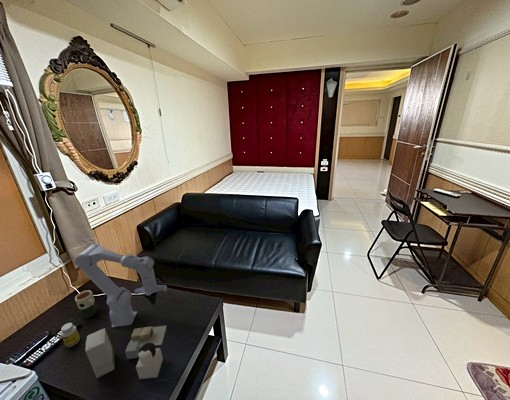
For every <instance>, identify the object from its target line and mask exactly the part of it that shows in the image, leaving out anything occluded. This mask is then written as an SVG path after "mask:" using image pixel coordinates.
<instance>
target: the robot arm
mask: <svg viewBox="0 0 510 400" xmlns="http://www.w3.org/2000/svg"><path fill="white" fill-rule="evenodd" d="M101 261H108V262H112V263H118V264H120V265H121V267H124V268H127V269H132V270H135V271H136V272H137V274H139V276H140V279H141V282H142V286H141V287H139V288H135V289H134V295H138V294H144V298H145V299H147V300H148V301H149V302H150V304H151V305H156V302H157V293H158V292H161V291H163V292H167V289H168V287H167V285H162V284H157V280H156V276H155V271H154V264H155V260H154V259H153V257H150V256H141V257H140V256H136V255H133V254H132V253H131V254H130V253H128V254H125V255H123V254H120V253H117V252H114V251H111V250H109V249H105V247H104V246H103V245H99V244H97V243H92V244H91V245H89V246H88V247H87V248H86V249H84V250H83V251H82V252H80V253H79V254H77V255H76V256H75V259H74V262H73V263H74V264H75V265H76V266H77V267H78V268H79V269H80V270H81V271H82V272H83V273H84V274H85V275H86V276H87V277H88V278H89V279H90V280H91V281H92V282H93V283H94V284H95V285H96V287H98V289H100V290H101V292H103V293H104V294H105V295H106V297H107V299H106V305H107V306H108V308H109V319H110V323H111V328H117V327H123V326H130V325H133V322H134V320H135V317H136V316H137V313H138V311H134V310H133V307H132V306H133V305H132V302H131V298H132V296H133V294H132V292H131V291H130V290H129V289H126V288H125V287H124V286H122V287H121V286H120V287H118V285H116V283H115V282H114V281H113V280H112V279H111V278H110V277H109V276H108V275H107V274H106V273H105V272H104V271H103V270H102V269H101V267H99V266H98V262H101Z"/></svg>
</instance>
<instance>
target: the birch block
mask: <svg viewBox="0 0 510 400" xmlns="http://www.w3.org/2000/svg"><path fill="white" fill-rule="evenodd" d="M152 327H153V325H151V326H145V327H139V328H134V329H133V331H132V333H131V336H130V337H131V338H132V342H138V341H139V342H142V341H149V340H151V339H152V335H153V328H152Z"/></svg>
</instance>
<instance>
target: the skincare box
mask: <svg viewBox="0 0 510 400" xmlns="http://www.w3.org/2000/svg"><path fill="white" fill-rule="evenodd" d="M85 353H86V356H87V359H88V360H89V363H90V365H91V367H92V371H93V373H94V375H95V378H96V379H98V378H100V377H102V376H105V375H106V374H108V373H110V372H112V371H114V370H115V367H116V366H115V352H114V349H113V346H112V344H111V341H110V339H109V335H108V333H107V330H106V328H104V327H103V328H101V329H98V330H97V331H95V332H92V333H90V334H88V335H87V336H86V341H85Z"/></svg>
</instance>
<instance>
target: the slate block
mask: <svg viewBox="0 0 510 400" xmlns="http://www.w3.org/2000/svg"><path fill="white" fill-rule="evenodd" d="M139 349H140V345H139V341H138V342H131V343H130V342H128V343H127V346H126V349H125V350H124V351H125V352H124V353H125V356H126V359H127V360H131V359H137V358H139V356H138V351H139Z"/></svg>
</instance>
